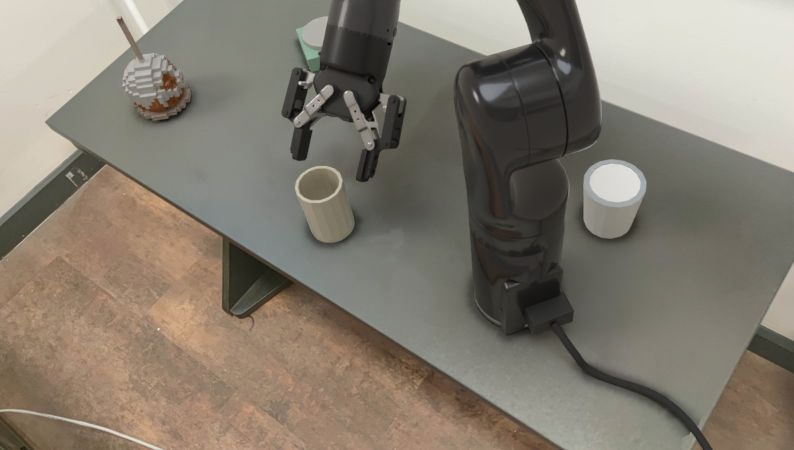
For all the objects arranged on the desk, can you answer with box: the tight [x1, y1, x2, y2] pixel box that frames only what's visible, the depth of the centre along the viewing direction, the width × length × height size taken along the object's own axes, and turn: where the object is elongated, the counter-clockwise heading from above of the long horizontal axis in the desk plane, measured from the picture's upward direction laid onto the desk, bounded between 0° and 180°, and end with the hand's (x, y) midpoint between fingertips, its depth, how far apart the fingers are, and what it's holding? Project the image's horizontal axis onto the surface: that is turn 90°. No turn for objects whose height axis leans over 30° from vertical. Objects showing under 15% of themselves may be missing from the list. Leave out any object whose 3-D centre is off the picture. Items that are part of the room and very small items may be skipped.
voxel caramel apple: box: [115, 15, 192, 122], centre depth 95 cm, size 8×8×15 cm
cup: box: [294, 165, 356, 244], centre depth 82 cm, size 5×5×8 cm
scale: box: [295, 15, 329, 73], centre depth 104 cm, size 8×8×3 cm
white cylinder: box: [582, 158, 647, 240], centre depth 80 cm, size 7×7×7 cm
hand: (330, 170), depth 81 cm, fingers open, 8 cm apart
